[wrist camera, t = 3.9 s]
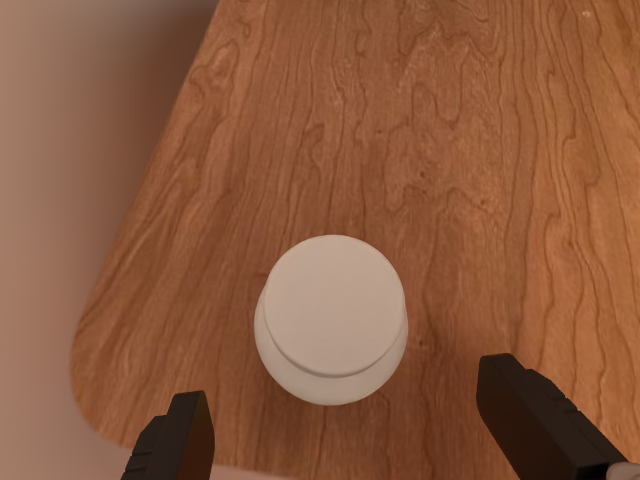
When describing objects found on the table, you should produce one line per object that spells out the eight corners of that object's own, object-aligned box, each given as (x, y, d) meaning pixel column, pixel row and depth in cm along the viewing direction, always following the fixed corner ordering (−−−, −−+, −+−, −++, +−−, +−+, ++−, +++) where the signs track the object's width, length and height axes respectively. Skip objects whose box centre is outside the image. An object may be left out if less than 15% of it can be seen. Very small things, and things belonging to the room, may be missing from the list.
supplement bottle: (273, 299, 20) (241, 213, 11) (372, 296, 20) (418, 207, 11) (272, 409, 18) (232, 408, 9) (383, 403, 18) (452, 398, 9)
